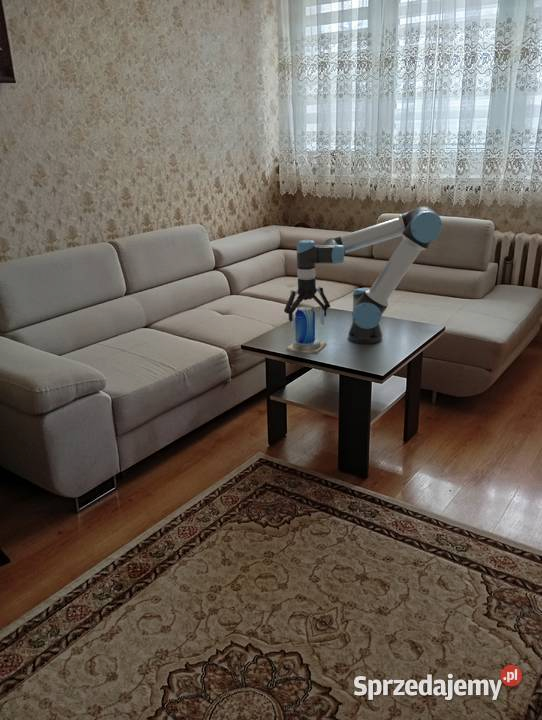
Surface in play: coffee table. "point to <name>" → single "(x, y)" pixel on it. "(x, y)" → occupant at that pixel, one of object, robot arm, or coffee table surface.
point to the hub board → (307, 347)
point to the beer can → (305, 326)
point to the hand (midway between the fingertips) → (307, 326)
